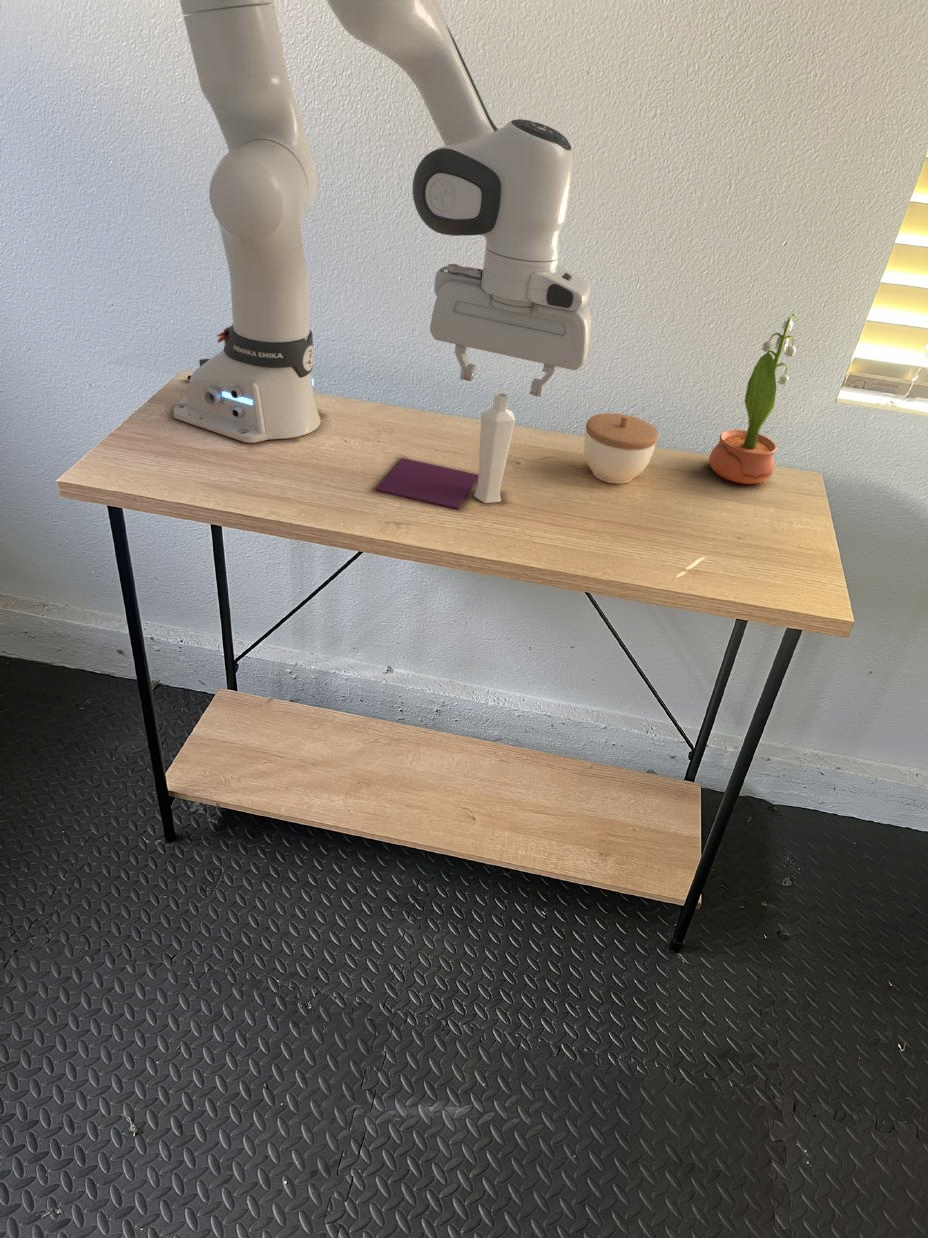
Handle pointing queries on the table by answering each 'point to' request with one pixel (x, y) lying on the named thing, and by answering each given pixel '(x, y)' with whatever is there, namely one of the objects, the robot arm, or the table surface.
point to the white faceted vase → (494, 448)
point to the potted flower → (754, 421)
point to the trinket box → (618, 446)
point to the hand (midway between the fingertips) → (501, 386)
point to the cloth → (428, 483)
